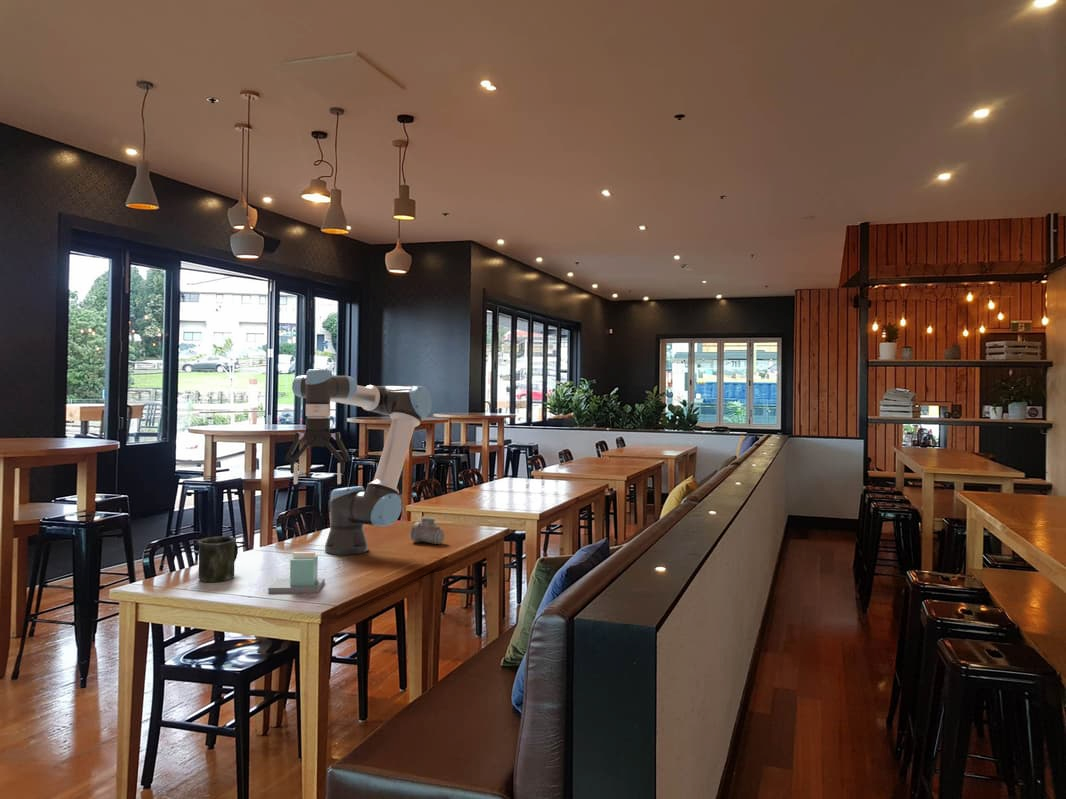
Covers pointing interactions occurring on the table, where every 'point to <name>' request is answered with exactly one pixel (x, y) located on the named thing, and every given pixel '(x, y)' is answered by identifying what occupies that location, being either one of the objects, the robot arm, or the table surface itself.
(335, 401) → the robot arm
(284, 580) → the post board
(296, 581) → the teal cube with ledge
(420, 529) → the pipe fitting
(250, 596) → the table surface
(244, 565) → the table surface
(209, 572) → the mug
